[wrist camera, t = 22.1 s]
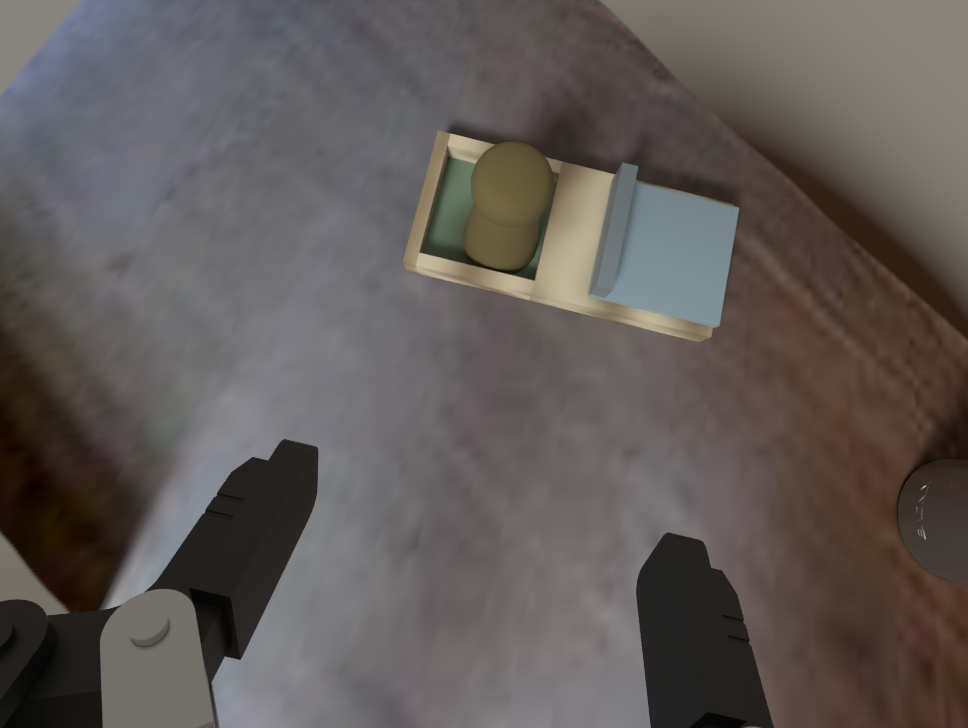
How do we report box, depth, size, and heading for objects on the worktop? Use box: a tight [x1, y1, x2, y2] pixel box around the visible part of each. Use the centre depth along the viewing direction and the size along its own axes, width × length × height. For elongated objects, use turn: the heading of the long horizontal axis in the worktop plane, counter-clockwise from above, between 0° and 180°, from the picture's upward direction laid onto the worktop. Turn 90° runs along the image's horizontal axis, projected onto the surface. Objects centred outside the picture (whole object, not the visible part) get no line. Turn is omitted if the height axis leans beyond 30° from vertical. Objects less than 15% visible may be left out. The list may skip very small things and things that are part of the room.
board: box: [403, 131, 734, 342], centre depth 42 cm, size 24×11×2 cm, turn 77°
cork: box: [462, 141, 554, 275], centre depth 37 cm, size 6×6×11 cm
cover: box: [587, 162, 739, 328], centre depth 40 cm, size 10×10×3 cm
